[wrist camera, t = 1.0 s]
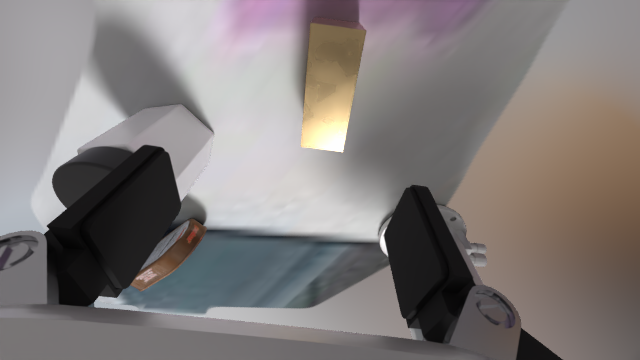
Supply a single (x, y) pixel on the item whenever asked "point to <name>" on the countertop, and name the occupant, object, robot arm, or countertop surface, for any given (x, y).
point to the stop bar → (330, 81)
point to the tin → (170, 253)
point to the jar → (127, 137)
